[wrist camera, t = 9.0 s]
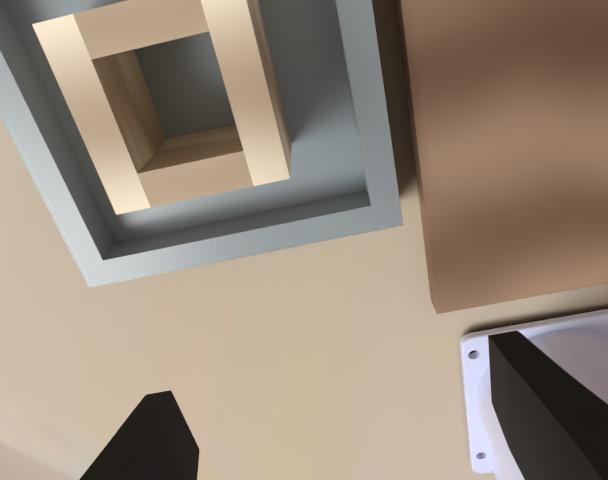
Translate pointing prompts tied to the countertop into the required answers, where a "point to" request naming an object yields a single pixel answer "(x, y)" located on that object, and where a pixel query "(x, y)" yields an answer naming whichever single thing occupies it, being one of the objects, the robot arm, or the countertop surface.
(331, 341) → the countertop surface
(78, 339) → the countertop surface
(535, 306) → the countertop surface
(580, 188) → the stake board
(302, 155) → the tray
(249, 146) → the hollow wooden block
